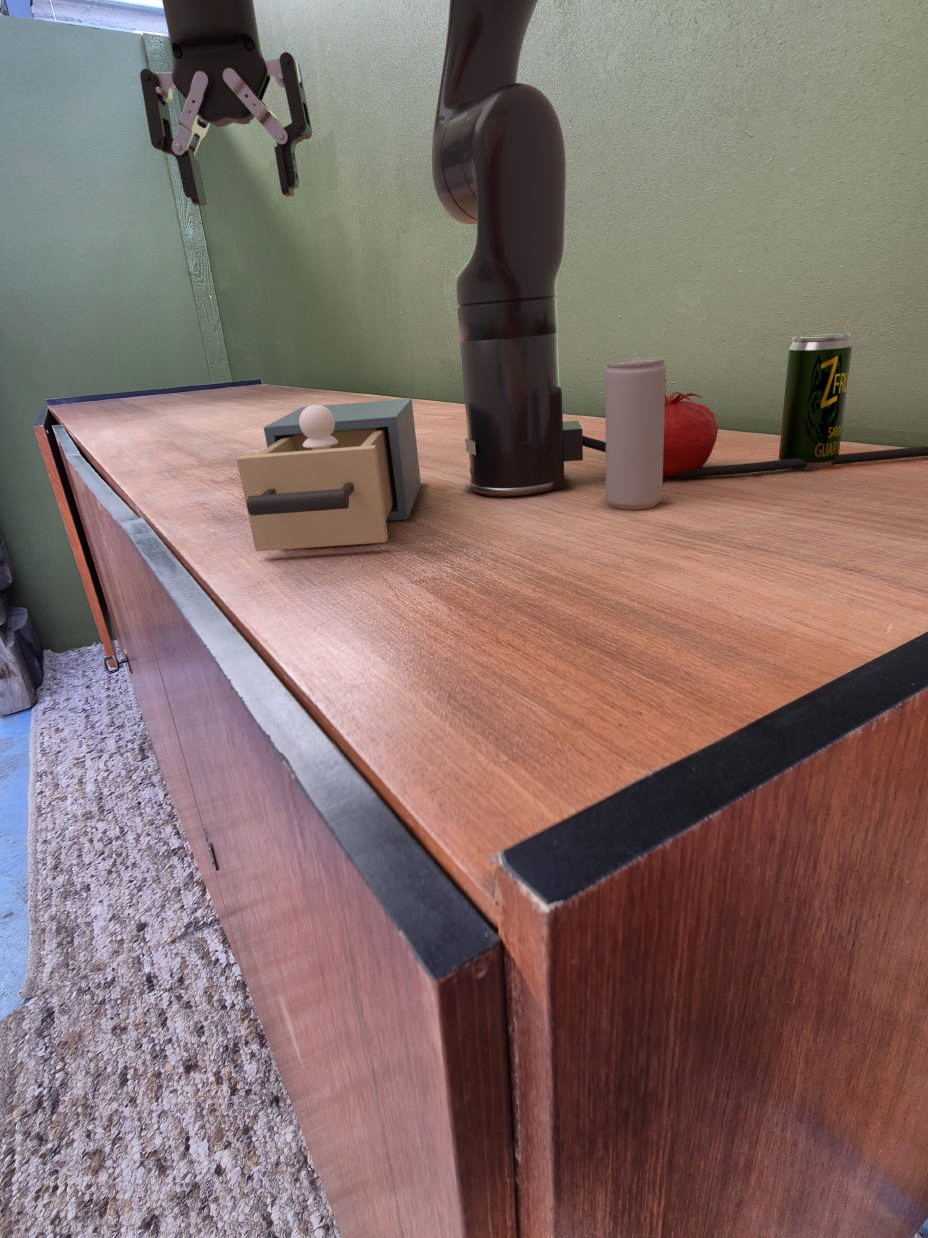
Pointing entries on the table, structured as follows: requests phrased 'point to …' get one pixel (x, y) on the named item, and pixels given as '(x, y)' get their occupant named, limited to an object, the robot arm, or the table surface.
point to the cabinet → (373, 415)
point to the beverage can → (635, 432)
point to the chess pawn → (317, 427)
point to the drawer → (319, 491)
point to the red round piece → (686, 434)
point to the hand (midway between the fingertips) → (243, 199)
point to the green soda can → (815, 399)
